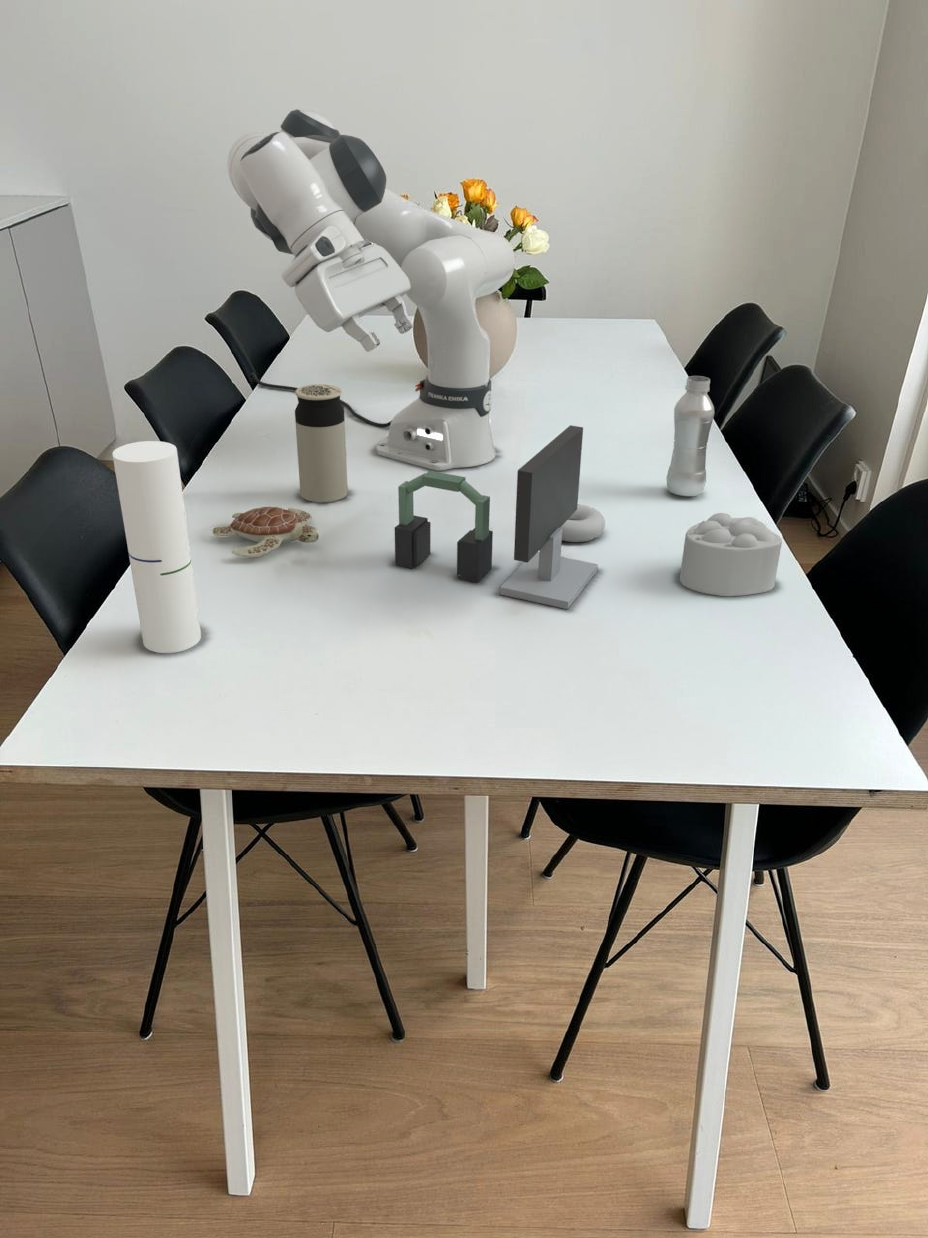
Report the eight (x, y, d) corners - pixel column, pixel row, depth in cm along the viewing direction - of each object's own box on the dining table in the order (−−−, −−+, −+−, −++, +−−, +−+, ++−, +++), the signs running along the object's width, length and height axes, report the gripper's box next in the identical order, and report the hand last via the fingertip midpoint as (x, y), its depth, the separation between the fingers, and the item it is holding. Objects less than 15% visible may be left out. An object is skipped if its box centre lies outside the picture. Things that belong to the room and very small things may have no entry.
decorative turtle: (289, 572, 146) (287, 540, 143) (190, 553, 151) (186, 522, 148) (345, 525, 161) (344, 495, 158) (253, 509, 166) (251, 480, 163)
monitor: (489, 605, 138) (493, 466, 128) (541, 549, 154) (548, 421, 144) (558, 620, 134) (568, 479, 125) (604, 561, 150) (616, 432, 141)
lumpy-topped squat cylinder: (782, 590, 143) (792, 534, 139) (697, 600, 140) (705, 543, 136) (747, 559, 152) (755, 506, 147) (666, 568, 149) (673, 513, 145)
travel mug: (310, 507, 167) (303, 400, 158) (294, 490, 173) (286, 386, 164) (355, 499, 170) (350, 393, 161) (337, 483, 176) (332, 381, 168)
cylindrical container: (148, 625, 132) (119, 441, 120) (204, 624, 132) (181, 440, 120) (138, 654, 125) (106, 462, 113) (196, 652, 126) (171, 461, 114)
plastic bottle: (704, 502, 171) (720, 385, 161) (663, 498, 172) (677, 382, 163) (704, 488, 177) (719, 374, 167) (664, 485, 178) (678, 372, 168)
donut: (596, 550, 154) (610, 524, 162) (598, 529, 152) (612, 504, 161) (533, 540, 157) (549, 515, 165) (534, 520, 155) (551, 496, 163)
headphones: (395, 564, 148) (393, 474, 142) (411, 551, 153) (410, 463, 146) (477, 582, 144) (479, 490, 137) (491, 568, 148) (494, 478, 141)
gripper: (355, 249, 144) (411, 332, 147) (273, 279, 128) (338, 371, 131) (384, 222, 140) (441, 308, 143) (303, 250, 125) (369, 345, 127)
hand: (391, 339), depth 137 cm, fingers open, 8 cm apart
